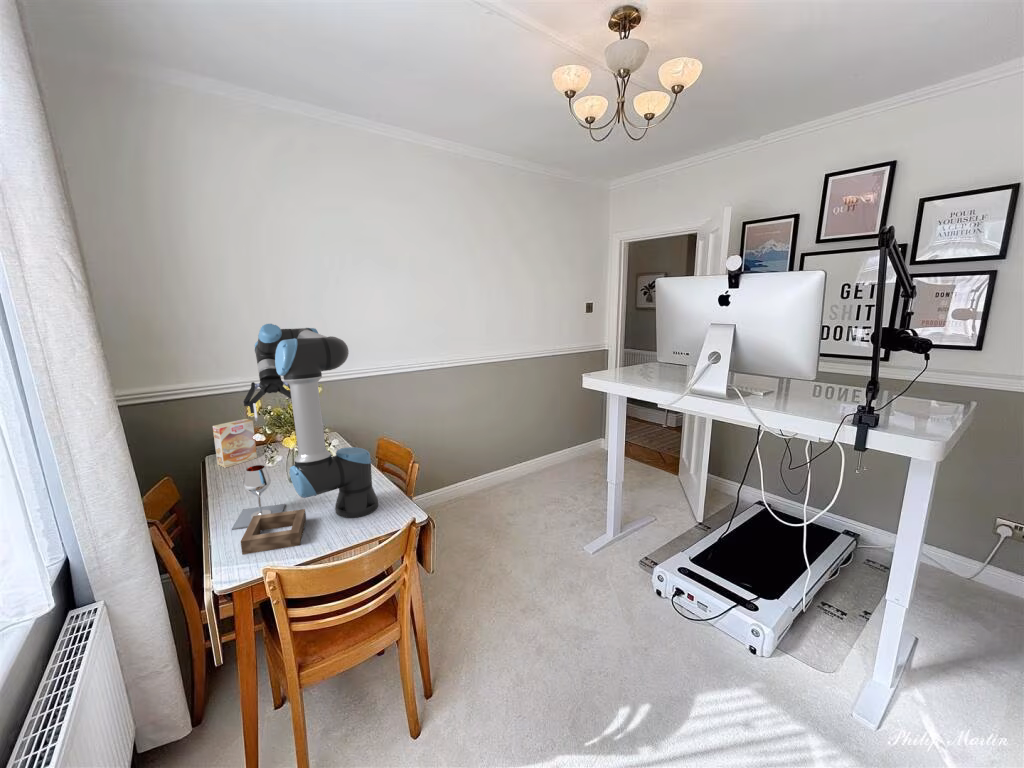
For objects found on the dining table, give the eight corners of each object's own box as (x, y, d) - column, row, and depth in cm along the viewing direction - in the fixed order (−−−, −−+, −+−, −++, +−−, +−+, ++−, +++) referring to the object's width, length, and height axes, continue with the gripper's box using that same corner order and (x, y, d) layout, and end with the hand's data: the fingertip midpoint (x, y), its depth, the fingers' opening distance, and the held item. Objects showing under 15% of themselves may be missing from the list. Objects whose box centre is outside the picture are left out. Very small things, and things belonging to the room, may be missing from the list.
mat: (285, 505, 159) (285, 503, 159) (278, 523, 146) (278, 521, 146) (243, 510, 154) (242, 509, 154) (232, 530, 141) (231, 528, 141)
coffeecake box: (224, 468, 192) (219, 428, 188) (217, 465, 196) (211, 425, 192) (257, 458, 205) (253, 420, 201) (250, 455, 208) (245, 418, 204)
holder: (306, 520, 148) (305, 508, 147) (299, 545, 133) (298, 532, 132) (254, 528, 143) (253, 516, 142) (242, 554, 128) (240, 541, 127)
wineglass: (278, 509, 154) (273, 463, 151) (266, 520, 146) (260, 472, 143) (256, 509, 154) (250, 463, 150) (242, 520, 146) (236, 473, 142)
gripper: (302, 375, 179) (311, 417, 169) (233, 381, 165) (239, 426, 156) (303, 364, 173) (312, 407, 164) (232, 369, 159) (237, 416, 150)
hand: (277, 417), depth 160 cm, fingers open, 13 cm apart
